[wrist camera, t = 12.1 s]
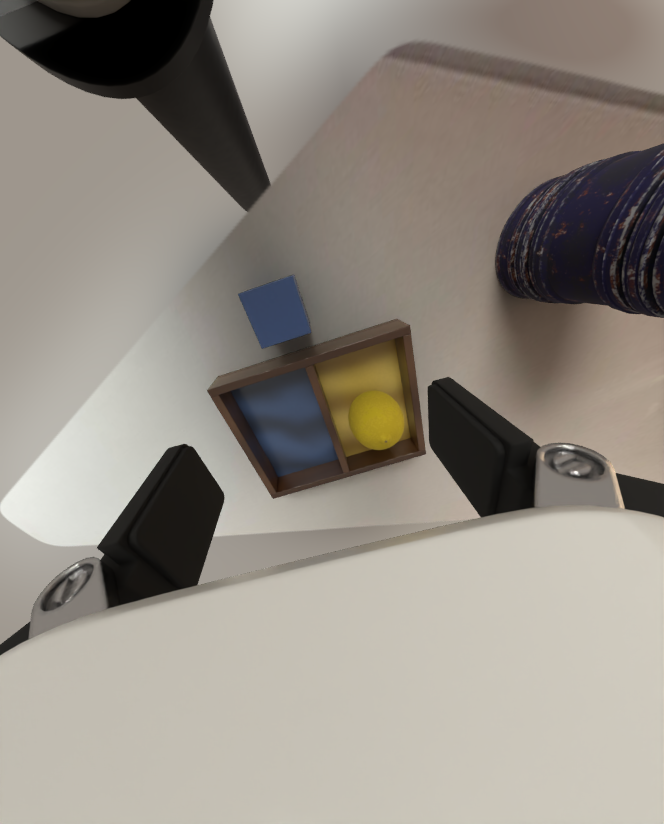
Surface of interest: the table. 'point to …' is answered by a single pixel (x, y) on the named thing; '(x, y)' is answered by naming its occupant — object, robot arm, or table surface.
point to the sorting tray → (321, 408)
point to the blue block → (276, 311)
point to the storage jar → (591, 237)
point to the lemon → (376, 420)
